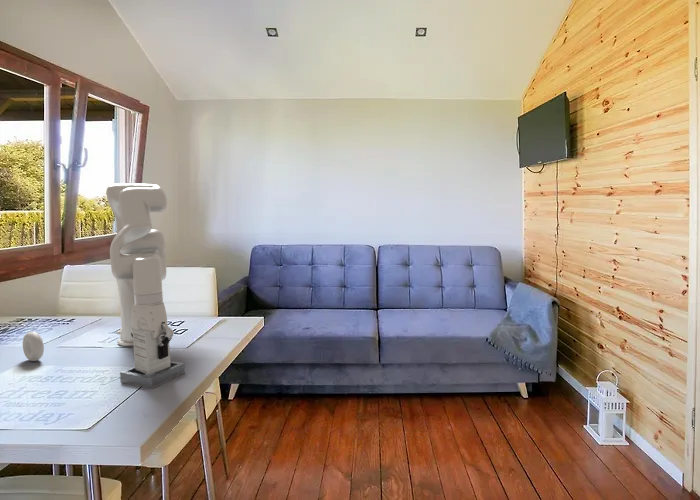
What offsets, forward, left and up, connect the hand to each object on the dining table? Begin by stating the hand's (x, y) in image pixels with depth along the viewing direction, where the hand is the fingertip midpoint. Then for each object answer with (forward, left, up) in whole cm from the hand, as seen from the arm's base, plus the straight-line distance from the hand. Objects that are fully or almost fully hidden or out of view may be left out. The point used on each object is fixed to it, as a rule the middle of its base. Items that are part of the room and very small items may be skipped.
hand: (152, 355), depth 127 cm
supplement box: (0, 0, -4) cm, 4 cm away
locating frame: (0, 0, -7) cm, 7 cm away
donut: (-49, -4, -7) cm, 50 cm away
